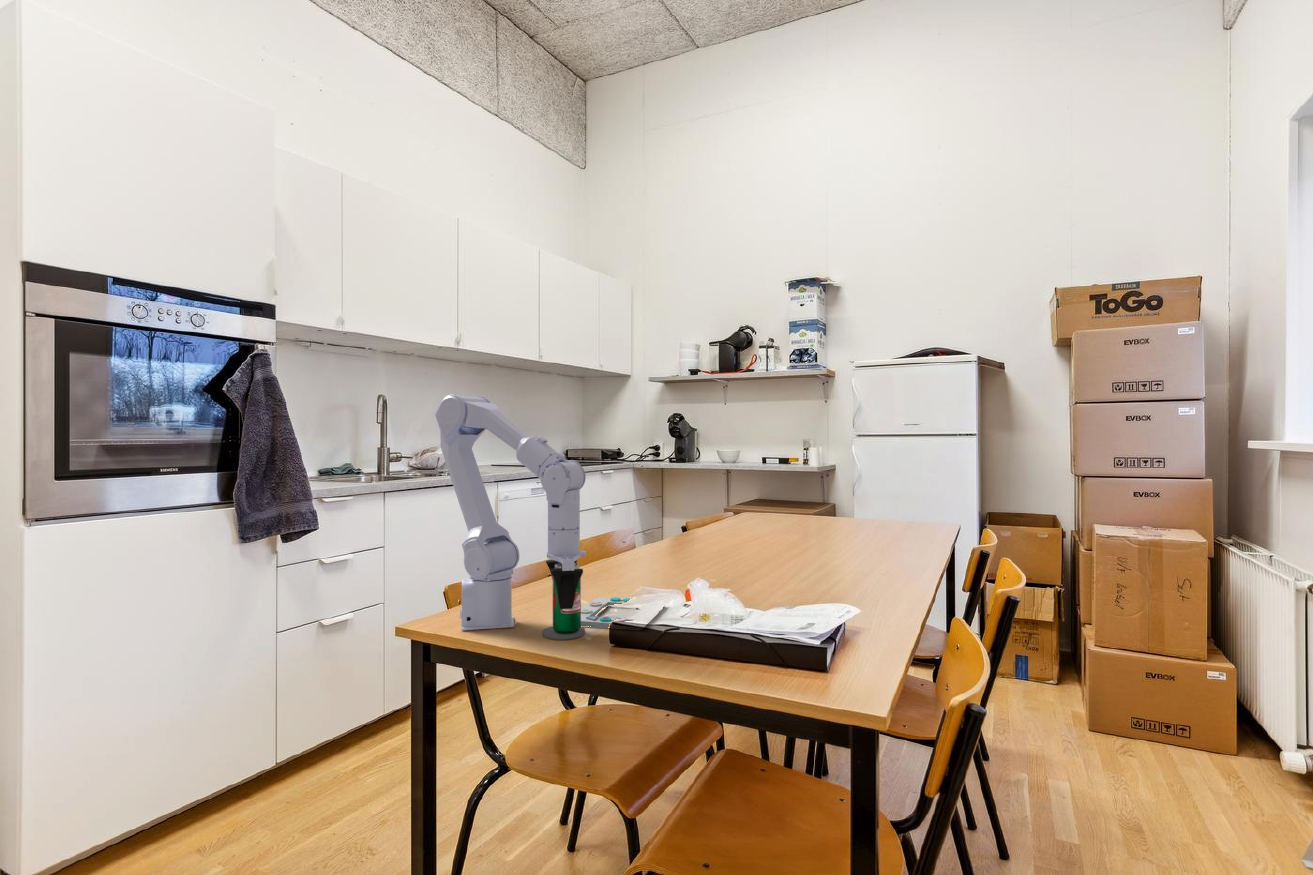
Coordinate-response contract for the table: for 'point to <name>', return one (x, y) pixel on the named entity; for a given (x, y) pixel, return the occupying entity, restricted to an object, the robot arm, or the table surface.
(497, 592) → the robot arm
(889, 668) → the table surface
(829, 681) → the table surface
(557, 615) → the soda can
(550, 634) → the rubber mat
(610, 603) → the electronic device
